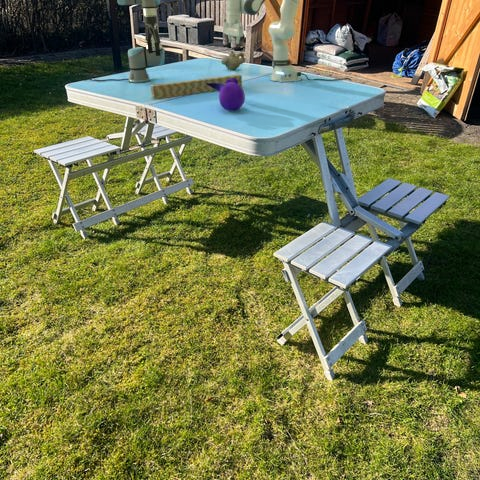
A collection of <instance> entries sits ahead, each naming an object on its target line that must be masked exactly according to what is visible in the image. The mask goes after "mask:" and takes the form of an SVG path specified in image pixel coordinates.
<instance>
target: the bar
mask: <svg viewBox="0 0 480 480" xmlns="http://www.w3.org/2000/svg"><path fill="white" fill-rule="evenodd" d="M231 78H236V79H237V80H238V85H240V86H241V87H242V88H243V76H242V74H232V75H223V76H216V77H208V78H200V79H191V80H190V79H189V80H183V81H176V82H167V83H166V82H165V83H157V84H151V85H150V91H151V98H152V99H153V100H160V99H166V98H167V99H169V98H174V97H181V96H182V97H183V96H188V95H198V94H204V93H211V92H219V91H218V90H216V89H214V88H212V87H210V86H208V85H207V84H206V83H221V84H226V81H227V80H228V79H231Z"/></svg>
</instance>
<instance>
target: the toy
mask: <svg viewBox="0 0 480 480" xmlns="http://www.w3.org/2000/svg"><path fill="white" fill-rule="evenodd" d="M206 84H207V85H208V86H210V87H212V88H214V89H216V90H218V91H217V92H219V93H218V101H219V104H220V106H221V107H222V108H223V109H224V110H226V111H229V112H236V111H238V110H240V109H241V108H242V107H243V105H244V103H245V101H246V94H245V90H244V89H243V86H242V87H241V86H240V85H238V80H237V79H236V78H231V79H228V80H227V81H226V84H221V83H206Z"/></svg>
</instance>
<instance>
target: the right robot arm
mask: <svg viewBox="0 0 480 480" xmlns="http://www.w3.org/2000/svg"><path fill="white" fill-rule="evenodd" d="M265 1H266V0H226V1H225V2H226V16H225V17H224V18H223V19H222V20H223V23H224V24H223V32H224V34H225V35H226V36H227V38H228V43H233V39H232V38H233V37H235V39H236V40H235V44H236V45H239V44H240V40H241V38H243V37H244V26H243V23H242V22H241V14H244V15H250V16H256V15H258V13H259V12H260V10H261V7H262V5H263V4H264V3H265ZM299 3H300V0H282V2H281V5H280V8H279V13H280V20H279V21H278V20H276V21H273V22H271V23H270V24H269V26H268V33H269V36H270V39H271V42H272V49H273V51H272V53H273V55H272V56H273V57H272V58H273V59H272V63H271V64H272V73H271V77H270V80H271V81H273V82H280V83H288V82H299V81H302V78H301V76H304V77H306V80H307V81H327V82H332V81H333V82H335V81H342V80H349V81H352V79H351V78H350V77H344V78H335V79H334V78H333V79H325V78H314V79H313V78H312V79H311V78H309V77H308V75H307V74H305V73H302V71H298V70H297V69H296V68H295V67H294V66H293V65H292V64H293V60H291V59H289V53H290V51H289V50H290V48H289V46H288V43H287V40H291V39H292V38H294V37H295V34H296V27H295V18H296V13H297V9H298V7H299ZM350 127H351V126H350V125H348V130H347V137H349V136H350Z"/></svg>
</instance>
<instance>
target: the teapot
mask: <svg viewBox="0 0 480 480" xmlns="http://www.w3.org/2000/svg"><path fill="white" fill-rule="evenodd" d="M239 58H240V59H239ZM244 63H245V54H244V52H242V51H240V52H239V53H237V54H236V53H235V52H234V50H230V53H229V54H228V56H224V57H222V59H221V64H222V65H224V66H225V68H226V69H227V70H228V71H235V70H237V69H239V67H240V66H241V65H243V64H244Z"/></svg>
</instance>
